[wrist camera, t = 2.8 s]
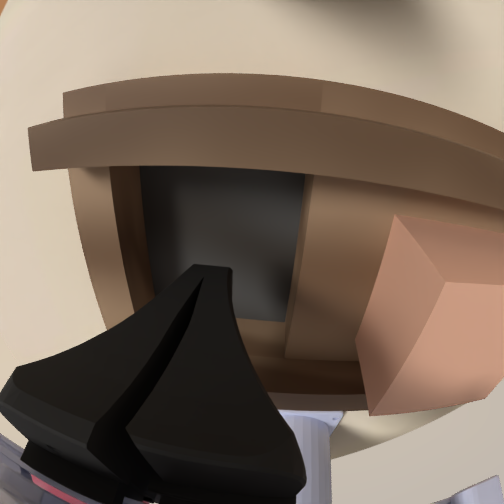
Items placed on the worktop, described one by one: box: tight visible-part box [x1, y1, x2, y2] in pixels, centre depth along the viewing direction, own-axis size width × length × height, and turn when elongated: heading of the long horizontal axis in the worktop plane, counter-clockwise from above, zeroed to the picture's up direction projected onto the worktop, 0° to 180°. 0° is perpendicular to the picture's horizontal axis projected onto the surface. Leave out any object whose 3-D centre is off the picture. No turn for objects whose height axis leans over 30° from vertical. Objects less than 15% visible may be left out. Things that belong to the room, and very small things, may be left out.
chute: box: [28, 73, 504, 411], centre depth 11 cm, size 14×28×5 cm, turn 87°
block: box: [355, 214, 504, 416], centre depth 9 cm, size 6×6×4 cm
